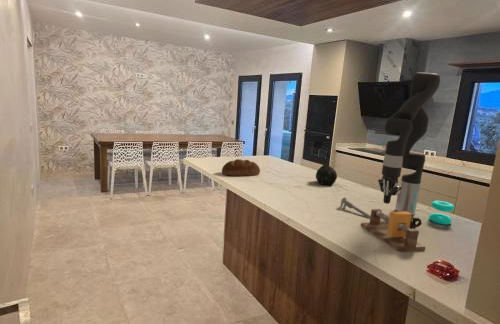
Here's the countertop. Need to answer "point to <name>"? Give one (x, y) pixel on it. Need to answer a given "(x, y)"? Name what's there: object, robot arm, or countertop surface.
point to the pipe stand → (396, 242)
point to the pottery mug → (413, 223)
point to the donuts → (441, 217)
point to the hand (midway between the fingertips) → (386, 202)
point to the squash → (326, 175)
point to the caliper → (350, 205)
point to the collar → (395, 220)
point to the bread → (240, 168)
